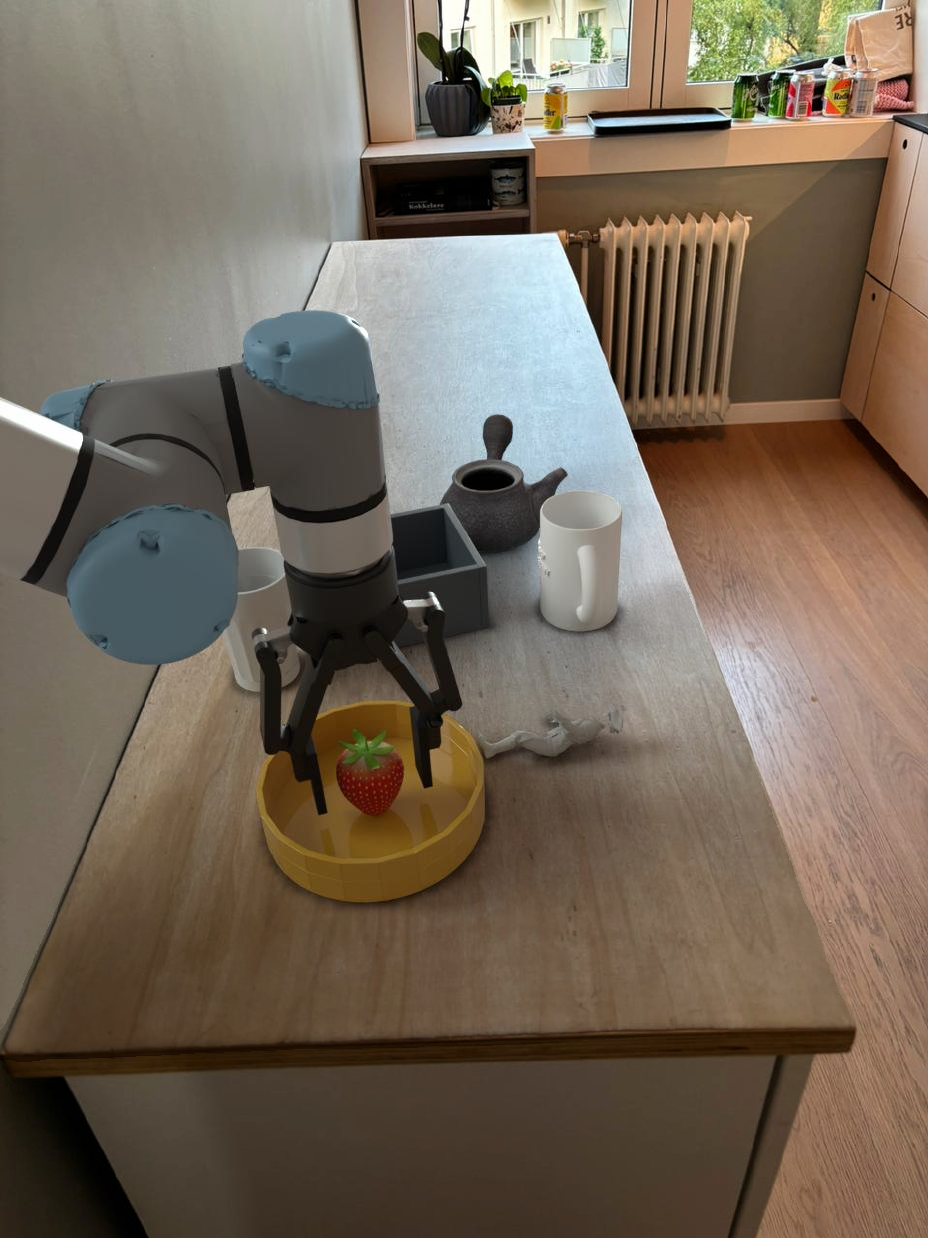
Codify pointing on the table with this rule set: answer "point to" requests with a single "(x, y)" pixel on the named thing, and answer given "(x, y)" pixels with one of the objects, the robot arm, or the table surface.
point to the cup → (259, 614)
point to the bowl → (374, 845)
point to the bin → (439, 570)
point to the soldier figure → (556, 735)
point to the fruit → (370, 774)
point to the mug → (579, 559)
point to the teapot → (498, 494)
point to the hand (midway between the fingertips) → (372, 789)
